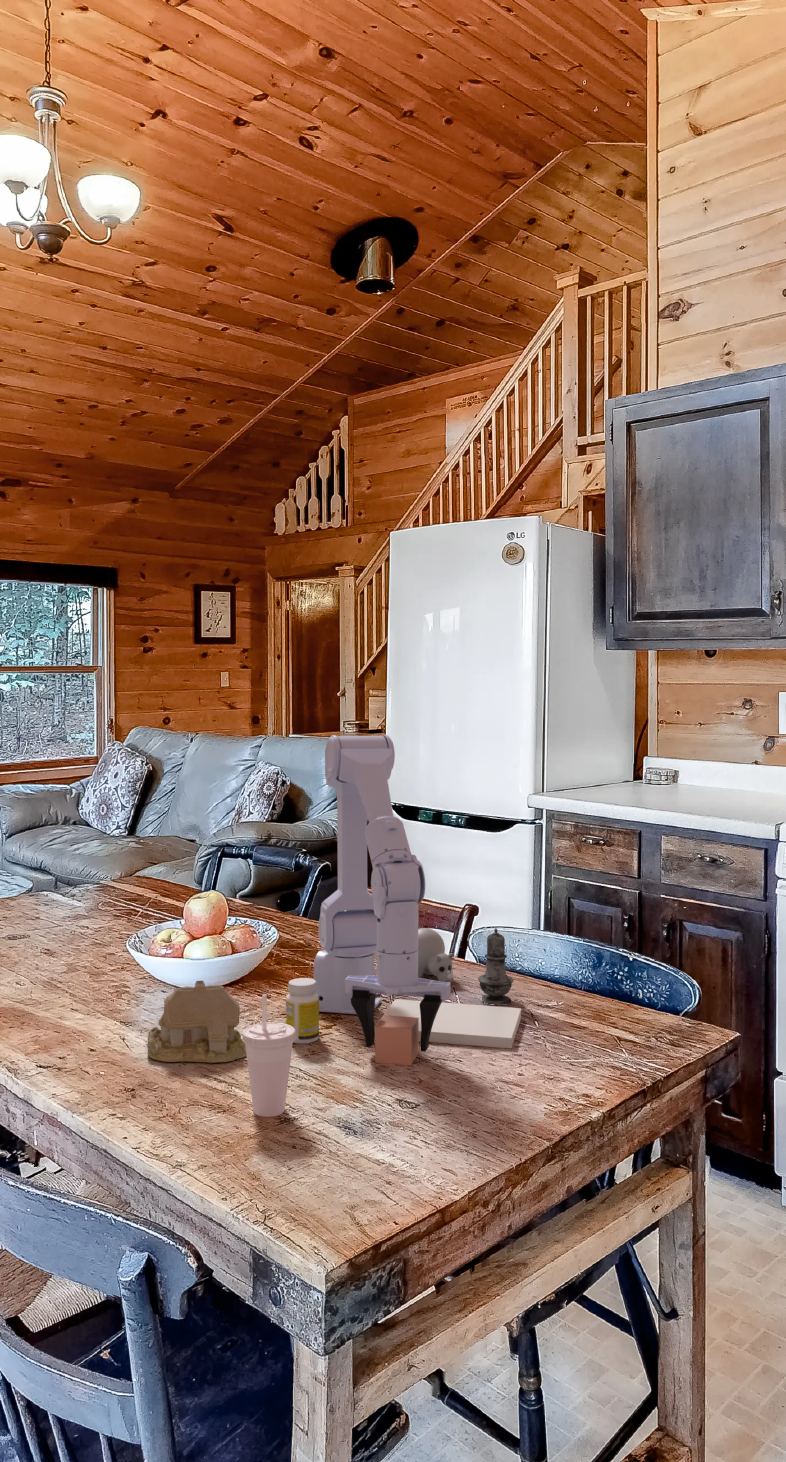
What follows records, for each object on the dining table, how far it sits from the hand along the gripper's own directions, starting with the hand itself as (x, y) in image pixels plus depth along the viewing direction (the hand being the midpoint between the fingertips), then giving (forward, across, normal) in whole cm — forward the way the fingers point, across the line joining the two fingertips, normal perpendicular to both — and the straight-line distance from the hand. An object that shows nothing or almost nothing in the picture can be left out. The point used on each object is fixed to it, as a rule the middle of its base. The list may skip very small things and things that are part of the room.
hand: (397, 1047), depth 138 cm
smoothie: (+2, -11, -21) cm, 24 cm away
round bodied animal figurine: (+2, -3, +39) cm, 39 cm away
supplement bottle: (+2, -15, +4) cm, 16 cm away
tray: (+1, +5, +14) cm, 15 cm away
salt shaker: (+2, +10, +29) cm, 31 cm away
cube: (+2, 0, 0) cm, 2 cm away
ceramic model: (+2, -28, -4) cm, 28 cm away
